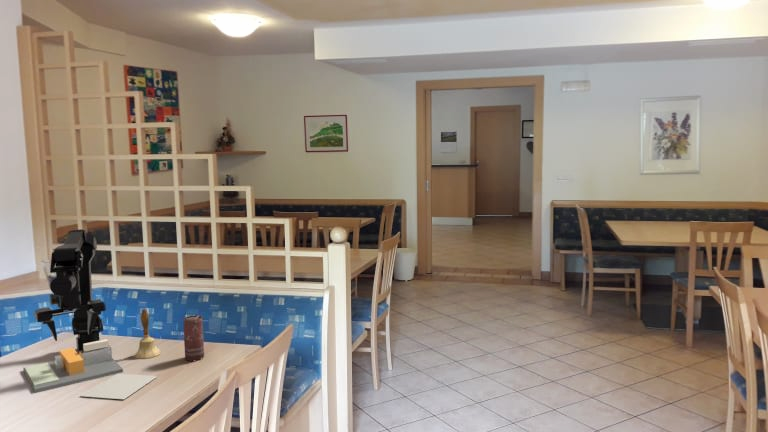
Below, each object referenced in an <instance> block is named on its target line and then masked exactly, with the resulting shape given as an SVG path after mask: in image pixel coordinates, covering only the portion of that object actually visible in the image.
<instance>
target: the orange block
mask: <svg viewBox="0 0 768 432" xmlns="http://www.w3.org/2000/svg"><path fill="white" fill-rule="evenodd" d="M59 355H61V357H62V360H63V367H64V368H65V369H66V371H67V372H68V374H69V375H74V374H79V373H83V372H84V361H83V359H82V358H81V356H80V353H78V352H77V351H76V350H75V348H74V347H72V348H67V349H63V350H62V349H61V350H59Z"/></svg>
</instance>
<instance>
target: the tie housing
mask: <svg viewBox="0 0 768 432" xmlns="http://www.w3.org/2000/svg"><path fill="white" fill-rule="evenodd" d="M78 352H79V355H80V356H81V358H82V359H83V361H84V366H88V365H93V364H97V363H102V362H106V361H110V360H112V358H113V352H112V346H110V345H109V344H108V347H104V348H99V349H95V350H90V351H84V350H82V351H79V350H78ZM54 361H55V369H56V371H57V372H61V371H63V360H62V357H61V355H60V354H58V355H55V356H54Z"/></svg>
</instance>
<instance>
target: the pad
mask: <svg viewBox="0 0 768 432" xmlns="http://www.w3.org/2000/svg"><path fill="white" fill-rule="evenodd" d="M25 370H26V371H27V373H28V375H29V377H30V379H31V380H32V382H33V384H34V386H37V385H41V384H45V383H50V382H54V381H58V380H59V378H58V377H57V375H56V374H55V373H54V371H53V370H52V368H51V367H50V365H49V364H48V362H44V363H43V362H42V363H39V365H38V364H34V365H29V366H25Z"/></svg>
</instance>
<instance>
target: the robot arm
mask: <svg viewBox="0 0 768 432" xmlns="http://www.w3.org/2000/svg"><path fill="white" fill-rule="evenodd" d="M97 242H98V241H97V239H96V237H95V235H94V234H91V233H89V232H88V231H87V230H86V229H80V228H78V229H71V230H68V235H67V237H66V239H65V241H64V243H63V245H58V246H56V247H55V248H54V250H53V251H52V252H51V257H50V268H49V273H50V274H53V273H54V274H55V277H54V278H53V279H52V280H51V282H50V284H49V288H50V292H51V294H49V302H50V303H49V304H50V306H53V305H55V306H57V309H51V308H50V307H49V306H48V307H42V308H37V309H36V310H34V312H33V313H34V319H35V321H36V322H37V323H41V324H42V325H46V326H47V327H48V328H49V330H50V332H51V336H53V338H54V341H55V342H57V341H58V335H57V334H58V333H57V330H56V329H57V328H56V324H55V320H54V318H53V317H57V316H63V315H68V314H73V317H72V319H71V326H72V332H73V336H77V337H76V338H75V342H76V350H78V352H79V351H82V350H83V344H85V343H90V342H95V341H100V333H101V332H104V323H103V319H102V318H101V316H100V315H102V312H105V311H106V310H107V307H106V303H105V302H104V301H103V300H101V299H93V285H92V282H93V281H92V267H91V265H92V260H93V258H94V257H95V255H96V251H97V248H98V245H97V244H98V243H97Z"/></svg>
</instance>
